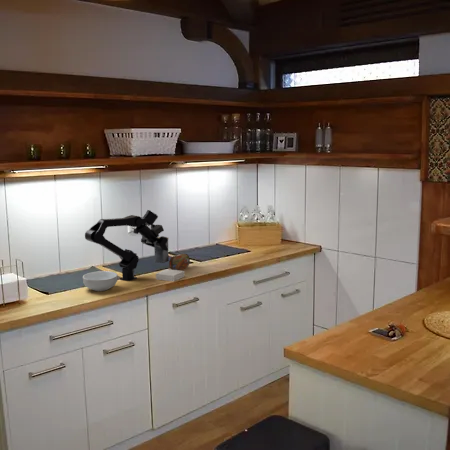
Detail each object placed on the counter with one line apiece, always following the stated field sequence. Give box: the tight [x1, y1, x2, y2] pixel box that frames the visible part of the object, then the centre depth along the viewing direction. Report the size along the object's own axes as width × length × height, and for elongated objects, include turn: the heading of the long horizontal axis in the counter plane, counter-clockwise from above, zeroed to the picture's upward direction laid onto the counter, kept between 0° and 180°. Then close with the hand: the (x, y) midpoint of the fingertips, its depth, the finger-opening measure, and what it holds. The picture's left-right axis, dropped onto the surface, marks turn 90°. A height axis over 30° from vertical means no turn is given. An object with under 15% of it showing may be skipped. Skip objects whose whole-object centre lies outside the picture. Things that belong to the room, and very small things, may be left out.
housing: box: [153, 236, 170, 264], centre depth 302 cm, size 6×6×13 cm
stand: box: [155, 268, 185, 282], centre depth 292 cm, size 11×11×3 cm
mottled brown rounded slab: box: [168, 253, 191, 271], centre depth 310 cm, size 15×3×8 cm, turn 143°
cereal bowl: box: [82, 270, 118, 292], centre depth 271 cm, size 17×17×7 cm
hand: (163, 249), depth 303 cm, fingers closed on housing, 7 cm apart
